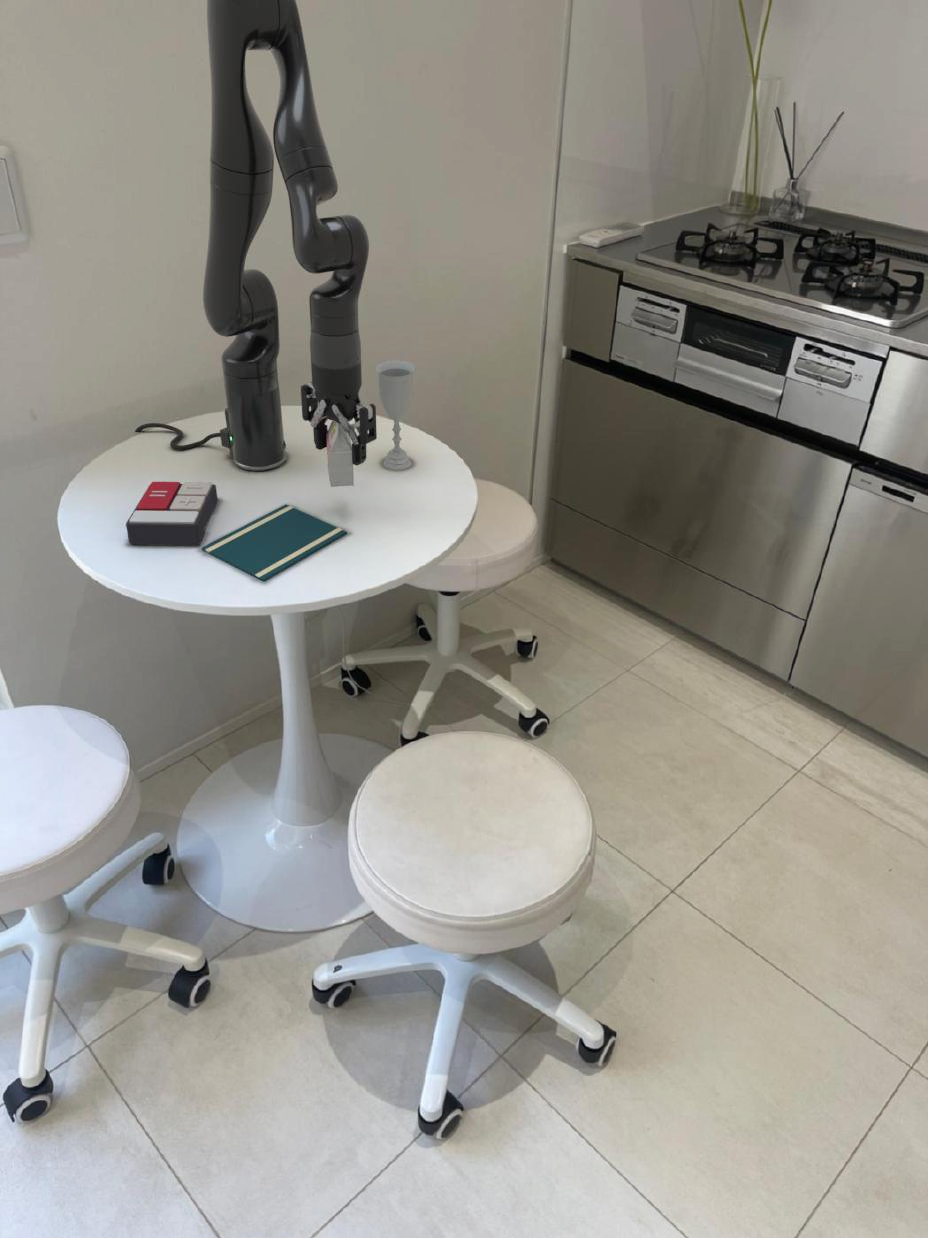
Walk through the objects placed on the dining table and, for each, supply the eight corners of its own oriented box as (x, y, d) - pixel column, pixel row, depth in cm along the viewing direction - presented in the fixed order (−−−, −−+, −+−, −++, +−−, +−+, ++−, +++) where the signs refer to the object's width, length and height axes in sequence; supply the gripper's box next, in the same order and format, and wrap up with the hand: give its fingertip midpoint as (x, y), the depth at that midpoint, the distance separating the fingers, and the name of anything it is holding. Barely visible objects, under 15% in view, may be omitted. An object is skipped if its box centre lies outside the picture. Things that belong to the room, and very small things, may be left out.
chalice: (410, 474, 171) (409, 378, 160) (373, 470, 172) (370, 374, 161) (420, 456, 177) (419, 362, 166) (384, 452, 178) (382, 358, 167)
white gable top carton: (350, 465, 159) (348, 409, 153) (353, 485, 153) (352, 428, 147) (327, 466, 158) (325, 410, 152) (330, 486, 153) (327, 429, 147)
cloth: (201, 549, 149) (201, 547, 149) (285, 506, 161) (285, 503, 160) (263, 581, 142) (263, 579, 142) (347, 533, 154) (346, 531, 154)
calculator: (215, 479, 160) (195, 520, 147) (218, 502, 162) (199, 545, 150) (149, 478, 160) (124, 519, 147) (153, 502, 162) (128, 544, 149)
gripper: (388, 362, 143) (388, 461, 153) (319, 338, 150) (324, 434, 159) (353, 377, 138) (356, 478, 148) (284, 351, 145) (291, 449, 155)
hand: (340, 455), depth 154 cm, fingers closed on white gable top carton, 7 cm apart
